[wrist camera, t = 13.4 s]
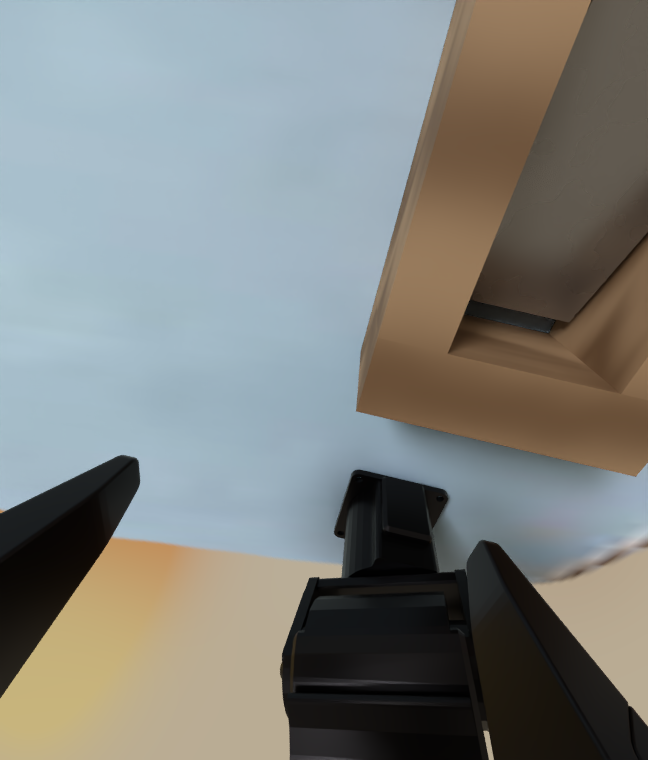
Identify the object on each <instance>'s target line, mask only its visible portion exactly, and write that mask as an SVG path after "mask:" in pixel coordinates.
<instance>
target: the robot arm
mask: <svg viewBox="0 0 648 760" xmlns="http://www.w3.org/2000/svg"><path fill="white" fill-rule="evenodd" d="M356 477H361V478H356ZM139 485H140V472H139V462H138V460H137V458H134V457H130V456H126V455H120V456H117V457H115V458H113V459H111V460H109V461H107V462H105V463H103V464H101V465H99V466H97V467H95V468H93V469H91V470H89V471H87V472H84V473H82V474H80V475H78V476H76V477H74V478H72V479H70V480H68V481H66V482H64V483H62V484H60V485H58V486H56V487H54V488H52V489H50V490H48V491H46V492H43V493H41V494H39V495H37V496H35V497H33V498H31V499H29V500H27V501H25V502H23V503H21V504H19V505H17V506H15V507H13V508H11V509H9V510H7V511H5V512H3V513H0V698H1V697H2V695H3V694H4V692H5V691H6V689H7V688H8V686H9V685H10V683H11V682H12V681H13V679H14V678H15V676H16V675H17V674H18V672H19V671H20V669H21V668H22V666H23V665H24V664H25V662H26V661H27V659H28V658H29V656H30V655H31V653H32V652H33V650H34V649H35V648H36V646H37V645H38V643H39V642H40V640H41V639H42V638H43V636H44V635H45V633H46V632H47V630H48V629H49V628H50V626H51V625H52V623H53V622H54V620H55V619H56V617H57V616H58V615H59V613H60V612H61V610H62V609H63V607H64V606H65V604H66V603H67V602H68V600H69V599H70V597H71V596H72V594H73V593H74V592H75V590H76V588H77V587H78V586H79V584H80V583H81V581H82V580H83V579H84V577H85V576H86V574H87V573H88V572H89V570H90V569H91V567H92V566H93V564H94V563H95V561H96V560H97V559H98V557H99V556H100V554H101V553H102V551H103V550H104V548H105V547H106V545H107V544H108V542H109V540H110V538H111V537H112V535H113V533H114V531H115V530H116V528H117V526H118V524H119V522H120V521H121V519H122V517H123V515H124V513H125V512H126V510H127V508H128V506H129V504H130V503H131V501H132V499H133V497H134V495H135V494H136V492H137V490H138V488H139ZM438 496H442V497H438ZM447 500H448V497H447V493H446V491H445V490H443V489H439V488H435V487H430V486H426V485H422V484H418V483H414V482H409V481H405V480H401V479H397V478H392V477H388V476H384V475H380V474H375V473H371V472H367V471H363V470H355V471H353V472H352V474H351V478H350V481H349V484H348V487H347V490H346V493H345V496H344V500H343V503H342V506H341V509H340V512H339V515H338V518H337V522H336V525H335V529H334V534H335V535H336V536H337V537H339V538H344V539H345V542H344V554H343V566H342V578H327V579H319V577H314V578H309V581H308V583H307V586H306V589H305V591H304V593H303V596H302V599H301V601H300V604H299V607H298V610H297V613H296V616H295V618H294V621H293V624H292V627H291V630H290V632H289V635H288V638H287V641H286V644H285V646H284V649H283V653H282V664H281V667H280V675H281V678H282V690H283V701H284V707H285V711H286V714H287V716H288V718H289V729H290V730H289V731H290V760H489V758H488V753H487V748H486V743H485V737H484V732H483V730H484V731H488V732H489V734H490V740H491V745H492V751H493V756H494V760H648V726H647V725H646V724H645V722H644V721H643V720H642V719H641V718H640V716H639V715H638V714H637V713H636V711H635V710H634V709H633V708H632V707H631V706H628V702H627V701H626V699H625V698H624V697H623V696H622V695H621V693H620V692H619V691H618V690H617V689H616V687H615V686H614V685H613V684H612V682H611V681H610V680H609V679H608V677H607V676H606V675H605V674H604V673H603V671H602V670H601V669H600V668H599V666H598V665H597V664H596V663H595V661H594V660H593V659H592V658H591V657H590V656H589V654H588V653H587V652H586V650H584V648H583V647H582V646H581V644H580V643H579V642H578V641H577V639H576V638H575V637H574V636H573V635H572V633H571V632H570V631H569V630H568V628H567V627H566V626H565V625H564V624H563V622H562V621H561V620H560V619H559V617H558V616H557V615H556V614H555V613H554V611H553V610H552V609H551V608H550V606H549V605H548V604H547V603H546V602H545V600H544V599H543V598H542V597H541V595H540V594H539V593H538V592H537V591H536V589H535V588H534V587H533V586H532V584H531V583H530V582H529V581H528V580H527V578H526V577H525V576H524V575H523V573H522V572H521V571H520V570H519V569H518V567H517V566H516V565H515V564H514V562H513V561H512V560H511V559H510V558H509V556H508V555H507V554H506V553H505V551H504V550H503V549H502V548H501V547H500V546H499V545H498V544H497V543H494V542H489V541H485V540H481V541H480V542H479V543H478V544H477V546H476V547H475V549H474V550H473V552H472V553H471V555H470V557H469V558H468V561H467V575H466V572H465V569H463V570H455V572H442V573H439V567H438V561H437V555H436V549H435V543H434V537H433V532H432V529H433V527H434V525H435V523H436V522H437V520H438V518H439V516H440V514H441V512H442V510H443V508H444V506H445V504H446V502H447Z"/></svg>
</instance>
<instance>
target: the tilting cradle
mask: <svg viewBox="0 0 648 760" xmlns="http://www.w3.org/2000/svg"><path fill="white" fill-rule="evenodd" d="M647 232H648V0H591V2H590V5H589V7H588V10H587V12H586V15H585V17H584V19H583V22H582V24H581V27H580V29H579V32H578V34H577V37H576V39H575V42H574V44H573V47H572V49H571V51H570V54H569V56H568V59H567V61H566V64H565V66H564V69H563V71H562V74H561V76H560V79H559V81H558V83H557V86H556V88H555V91H554V93H553V96H552V98H551V101H550V103H549V106H548V108H547V110H546V113H545V115H544V118H543V120H542V123H541V125H540V128H539V130H538V133H537V135H536V138H535V140H534V142H533V145H532V147H531V150H530V152H529V155H528V157H527V160H526V162H525V165H524V167H523V170H522V172H521V174H520V177H519V179H518V182H517V184H516V187H515V189H514V192H513V194H512V197H511V199H510V202H509V204H508V206H507V209H506V211H505V214H504V216H503V219H502V221H501V224H500V226H499V229H498V231H497V234H496V236H495V238H494V241H493V243H492V246H491V248H490V251H489V253H488V256H487V258H486V261H485V263H484V265H483V268H482V270H481V273H480V275H479V278H478V280H477V283H476V285H475V288H474V290H473V293H472V295H471V297H470V300H473V301H477V302H481V303H486V304H490V305H494V306H499V307H503V308H507V309H512V310H516V311H521V312H525V313H529V314H534V315H538V316H542V317H547V318H551V319H556V320H560V321H564V322H570V321H571V320H572V319H573V317H574V316H575V315H576V314H577V313H578V312H579V311H580V309H581V308H582V307H583V306H584V305H585V304H586V302H587V301H588V300H589V299H590V298H591V297H592V296H593V294H594V293H595V292H596V291H597V290H598V289H599V288H600V286H601V285H602V284H603V283H604V282H605V281H606V279H607V278H608V277H609V276H610V275H611V274H612V273H613V271H614V270H615V269H616V268H617V267H618V266H619V265H620V263H621V262H622V261H623V260H624V259H625V258H626V256H627V255H628V254H629V253H630V252H631V251H632V250H633V248H634V247H635V246H636V245H637V244H638V243H639V242H640V240H641V239H642V238H643V237H644V236H645V235H646V233H647Z"/></svg>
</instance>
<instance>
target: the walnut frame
mask: <svg viewBox="0 0 648 760" xmlns="http://www.w3.org/2000/svg"><path fill="white" fill-rule="evenodd" d="M590 2H591V0H456V4H455V7H454V11H453V15H452V18H451V22H450V26H449V29H448V33H447V37H446V40H445V44H444V48H443V51H442V55H441V59H440V62H439V66H438V70H437V73H436V77H435V81H434V84H433V88H432V92H431V96H430V99H429V103H428V107H427V110H426V114H425V118H424V121H423V125H422V129H421V132H420V136H419V140H418V143H417V147H416V151H415V154H414V158H413V162H412V165H411V169H410V173H409V176H408V180H407V184H406V187H405V191H404V195H403V198H402V202H401V206H400V209H399V213H398V217H397V220H396V224H395V228H394V231H393V235H392V239H391V242H390V246H389V250H388V253H387V257H386V261H385V264H384V268H383V272H382V276H381V279H380V283H379V287H378V290H377V294H376V298H375V301H374V305H373V309H372V312H371V316H370V320H369V323H368V327H367V331H366V334H365V338H364V342H363V345H362V349H361V356H360V369H359V382H358V395H357V408H356V411H357V412H362V413H366V414H370V415H374V416H379V417H383V418H387V419H392V420H396V421H400V422H404V423H409V424H413V425H417V426H421V427H426V428H430V429H434V430H439V431H443V432H447V433H451V434H456V435H460V436H464V437H469V438H473V439H477V440H481V441H486V442H490V443H494V444H498V445H503V446H507V447H511V448H516V449H520V450H524V451H528V452H533V453H537V454H541V455H545V456H550V457H554V458H558V459H563V460H567V461H571V462H575V463H580V464H584V465H588V466H592V467H597V468H601V469H605V470H610V471H614V472H618V473H622V474H627V475H631V476H635V477H636V476H637V474H638V473H639V472H640V471H641V470H642V469H643V467H644V466H645V465H646V464H647V463H648V232H647V233H646V235H645V236H644V237H643V238H642V239H641V240H640V242H639V243H638V244H637V245H636V246H635V247H634V248H633V250H632V251H631V252H630V253H629V254H628V255H627V256H626V258H625V259H624V260H623V261H622V262H621V263H620V265H619V266H618V267H617V268H616V269H615V270H614V271H613V273H612V274H611V275H610V276H609V277H608V278H607V279H606V281H605V282H604V283H603V284H602V285H601V286H600V288H599V289H598V290H597V291H596V292H595V293H594V294H593V296H592V297H591V298H590V299H589V300H588V301H587V302H586V304H585V305H584V306H583V307H582V308H581V309H580V311H579V312H578V313H577V314H576V315H575V316H574V317H573V319H572V320H571V321H570V322H564V321H560V320H556V321H555V323H554V325H553V327H552V328H551V330H550V332H549V333H544V332H540V331H536V330H531V329H527V328H523V327H518V326H514V325H510V324H505V323H501V322H497V321H492V320H488V319H483V318H479V317H475V316H470V315H466V314H464V312H465V310H466V307H467V305H468V302H469V300H470V297H471V295H472V293H473V290H474V288H475V285H476V283H477V280H478V278H479V275H480V273H481V270H482V268H483V265H484V263H485V261H486V258H487V256H488V253H489V251H490V248H491V246H492V243H493V241H494V238H495V236H496V234H497V231H498V229H499V226H500V224H501V221H502V219H503V216H504V214H505V211H506V209H507V206H508V204H509V202H510V199H511V197H512V194H513V192H514V189H515V187H516V184H517V182H518V179H519V177H520V174H521V172H522V170H523V167H524V165H525V162H526V160H527V157H528V155H529V152H530V150H531V147H532V145H533V142H534V140H535V138H536V135H537V133H538V130H539V128H540V125H541V123H542V120H543V118H544V115H545V113H546V110H547V108H548V106H549V103H550V101H551V98H552V96H553V93H554V91H555V88H556V86H557V83H558V81H559V79H560V76H561V74H562V71H563V69H564V66H565V64H566V61H567V59H568V56H569V54H570V51H571V49H572V47H573V44H574V42H575V39H576V37H577V34H578V32H579V29H580V27H581V24H582V22H583V19H584V17H585V15H586V12H587V10H588V7H589V5H590Z"/></svg>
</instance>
